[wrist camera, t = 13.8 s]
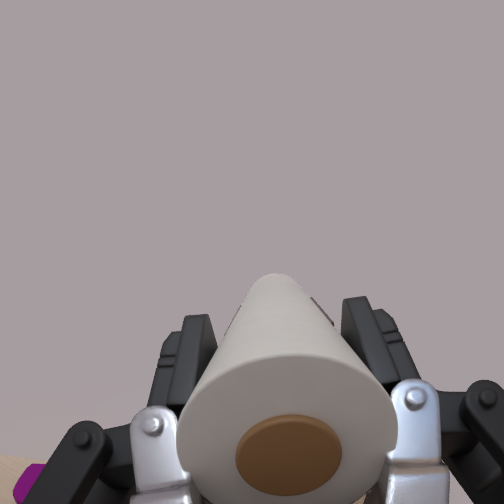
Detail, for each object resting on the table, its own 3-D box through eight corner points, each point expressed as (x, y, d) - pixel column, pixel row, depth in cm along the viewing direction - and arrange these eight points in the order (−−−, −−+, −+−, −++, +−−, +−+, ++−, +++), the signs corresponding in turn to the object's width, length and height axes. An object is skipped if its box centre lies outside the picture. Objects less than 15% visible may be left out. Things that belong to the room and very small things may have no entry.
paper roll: (306, 324, 25) (301, 270, 25) (390, 513, 5) (408, 338, 5) (250, 330, 25) (245, 275, 26) (195, 530, 5) (150, 363, 5)
